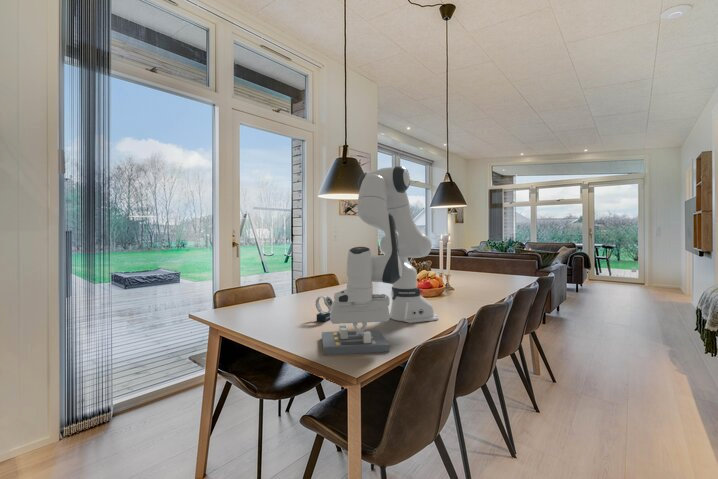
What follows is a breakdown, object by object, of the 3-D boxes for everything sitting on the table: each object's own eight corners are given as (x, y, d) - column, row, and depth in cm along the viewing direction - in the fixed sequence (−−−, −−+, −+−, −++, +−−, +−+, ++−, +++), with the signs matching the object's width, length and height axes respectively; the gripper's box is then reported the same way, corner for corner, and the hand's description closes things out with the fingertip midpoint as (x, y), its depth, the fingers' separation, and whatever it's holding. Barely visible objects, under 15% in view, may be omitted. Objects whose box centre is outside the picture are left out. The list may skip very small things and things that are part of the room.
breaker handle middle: (346, 336, 128) (346, 327, 128) (347, 338, 125) (347, 329, 125) (340, 336, 128) (340, 328, 127) (340, 339, 125) (340, 330, 125)
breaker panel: (379, 336, 137) (379, 329, 137) (389, 351, 120) (389, 344, 120) (321, 338, 134) (321, 331, 134) (323, 355, 117) (323, 347, 117)
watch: (328, 323, 155) (328, 298, 155) (313, 320, 159) (313, 296, 158) (335, 320, 160) (335, 295, 160) (319, 317, 164) (319, 294, 163)
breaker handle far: (345, 332, 133) (345, 323, 133) (346, 334, 131) (346, 325, 131) (338, 332, 133) (338, 323, 133) (339, 334, 130) (339, 325, 130)
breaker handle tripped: (369, 340, 124) (369, 331, 123) (371, 343, 121) (371, 333, 121) (362, 340, 123) (362, 331, 123) (364, 343, 121) (364, 334, 121)
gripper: (387, 292, 126) (387, 330, 127) (329, 294, 123) (329, 333, 124) (391, 295, 120) (391, 336, 120) (330, 297, 117) (331, 339, 117)
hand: (359, 334), depth 122 cm, fingers closed
